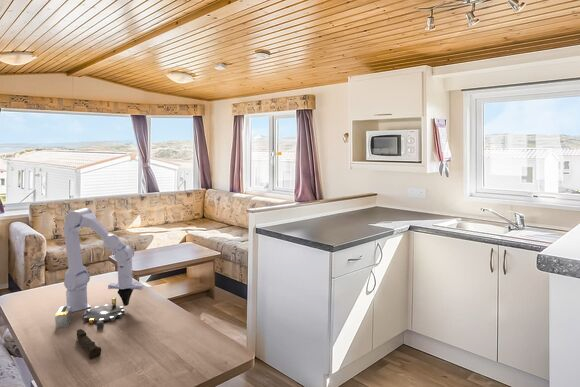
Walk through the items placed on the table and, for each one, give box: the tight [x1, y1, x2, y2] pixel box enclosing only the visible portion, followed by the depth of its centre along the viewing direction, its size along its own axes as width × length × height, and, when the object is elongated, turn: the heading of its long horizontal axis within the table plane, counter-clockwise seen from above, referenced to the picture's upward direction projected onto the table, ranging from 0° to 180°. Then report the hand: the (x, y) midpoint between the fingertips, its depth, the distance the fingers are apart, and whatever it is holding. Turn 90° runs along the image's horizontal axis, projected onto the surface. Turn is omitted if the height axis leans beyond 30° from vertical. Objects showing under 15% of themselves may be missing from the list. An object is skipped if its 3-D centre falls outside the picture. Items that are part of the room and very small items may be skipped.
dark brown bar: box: [76, 328, 102, 360], centre depth 145 cm, size 19×4×5 cm, turn 41°
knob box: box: [54, 305, 73, 329], centre depth 165 cm, size 10×4×5 cm, turn 19°
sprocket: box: [82, 297, 126, 324], centre depth 172 cm, size 16×16×5 cm
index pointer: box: [96, 320, 105, 330], centre depth 161 cm, size 3×2×2 cm, turn 18°
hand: (126, 305), depth 177 cm, fingers closed
